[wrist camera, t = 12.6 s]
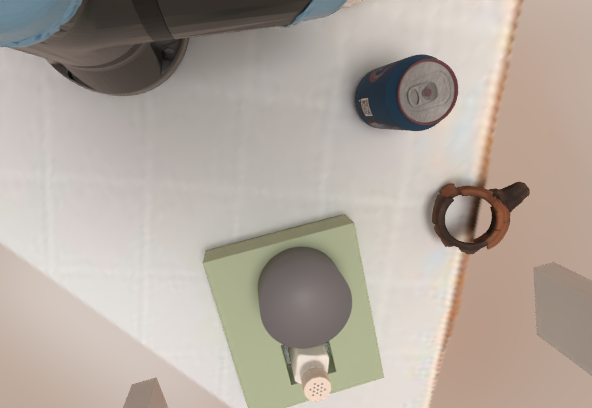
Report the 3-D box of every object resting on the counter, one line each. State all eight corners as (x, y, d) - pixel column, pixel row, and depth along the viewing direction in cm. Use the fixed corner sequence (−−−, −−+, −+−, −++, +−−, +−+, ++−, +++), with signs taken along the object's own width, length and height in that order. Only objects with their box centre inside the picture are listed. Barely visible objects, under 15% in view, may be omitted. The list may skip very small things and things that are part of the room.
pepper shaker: (287, 353, 51) (298, 405, 42) (290, 326, 50) (302, 373, 41) (315, 353, 51) (332, 404, 42) (319, 327, 51) (337, 373, 41)
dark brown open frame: (460, 260, 52) (465, 273, 44) (416, 207, 54) (413, 211, 46) (539, 206, 49) (558, 210, 41) (488, 152, 50) (498, 146, 43)
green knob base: (205, 250, 46) (198, 281, 37) (344, 214, 47) (368, 235, 39) (250, 395, 51) (252, 452, 43) (373, 358, 53) (399, 405, 44)
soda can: (399, 61, 44) (456, 40, 33) (412, 117, 46) (471, 117, 34) (345, 79, 44) (383, 65, 32) (360, 136, 46) (402, 142, 34)
